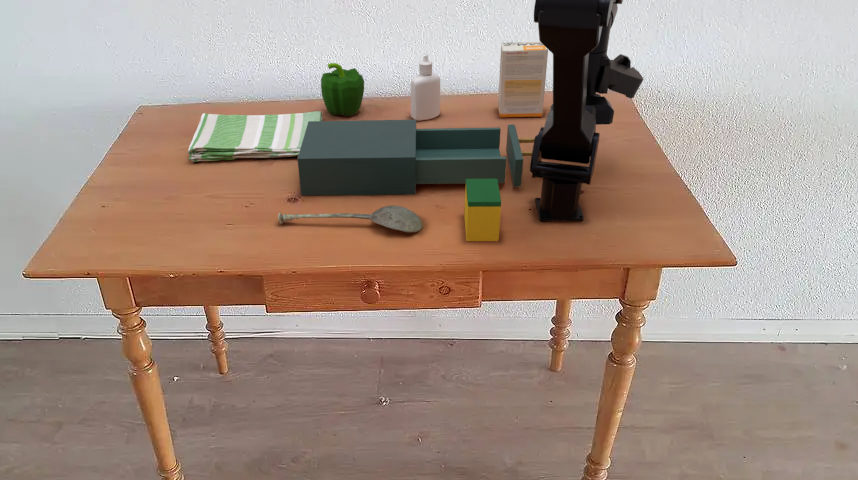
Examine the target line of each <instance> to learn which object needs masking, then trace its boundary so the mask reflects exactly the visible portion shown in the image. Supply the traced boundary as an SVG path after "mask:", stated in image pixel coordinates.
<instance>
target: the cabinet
mask: <svg viewBox="0 0 858 480" xmlns="http://www.w3.org/2000/svg"><path fill="white" fill-rule="evenodd" d="M416 129H417V120H415V119H372V120H371V119H369V120H366V119H365V120H363V119H361V120H322V121H308V125H307V128H306V131H305V135H304V138H303V142H302V145H301V148H300V152H299V155H298V156H297V168H298V177H299V187H300V196H385V195H387V196H388V195H389V196H391V195H392V196H393V195H394V196H397V195H399V196H400V195H401V196H402V195H404V196H405V195H407V196H408V195H416V194H417V184H416Z"/></svg>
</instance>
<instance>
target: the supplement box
mask: <svg viewBox="0 0 858 480" xmlns="http://www.w3.org/2000/svg"><path fill="white" fill-rule="evenodd" d="M548 55H549V50H548V49H547V48H546V47H545V46H544V45H543V44H542V43H541V42H540V41H515V42H514V41H513V42H501V43H500V57H499V58H500V59H499V80H498V98H497V99H498V100H497V101H498V102H497V110H498V115H499V118H533V117H534V118H538V117H539V118H540V117H541V118H542V117H543V114H544V104H545V93H546V92H545V91H546V80H547V70H548V69H547V67H548Z"/></svg>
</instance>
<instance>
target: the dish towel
mask: <svg viewBox="0 0 858 480" xmlns="http://www.w3.org/2000/svg"><path fill="white" fill-rule="evenodd" d="M308 121H323V111H320V110H316V111H314V110H313V111H307V112H299V113H297V112H296V113H282V114H281V113H280V114H278V113H277V114H253V115H252V114H251V115H250V114H217V113H216V114H215V113H205V112H204V113H202V114H201V116H200V119H199V122H198V125H197V127H196V129H195V132H194V134H193V137H192V139H191V141H190V143H189V147H188V150H187V154H188V155H189V156H188V160H189V161H192V162H193V163H197V162H218V161H232V160H236V159H272V158H273V159H274V158H290V157H291V158H292V157H298V155H299V152H300V148H301V145H302V142H303V138H304V135H305V131H306V128H307V125H308Z"/></svg>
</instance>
